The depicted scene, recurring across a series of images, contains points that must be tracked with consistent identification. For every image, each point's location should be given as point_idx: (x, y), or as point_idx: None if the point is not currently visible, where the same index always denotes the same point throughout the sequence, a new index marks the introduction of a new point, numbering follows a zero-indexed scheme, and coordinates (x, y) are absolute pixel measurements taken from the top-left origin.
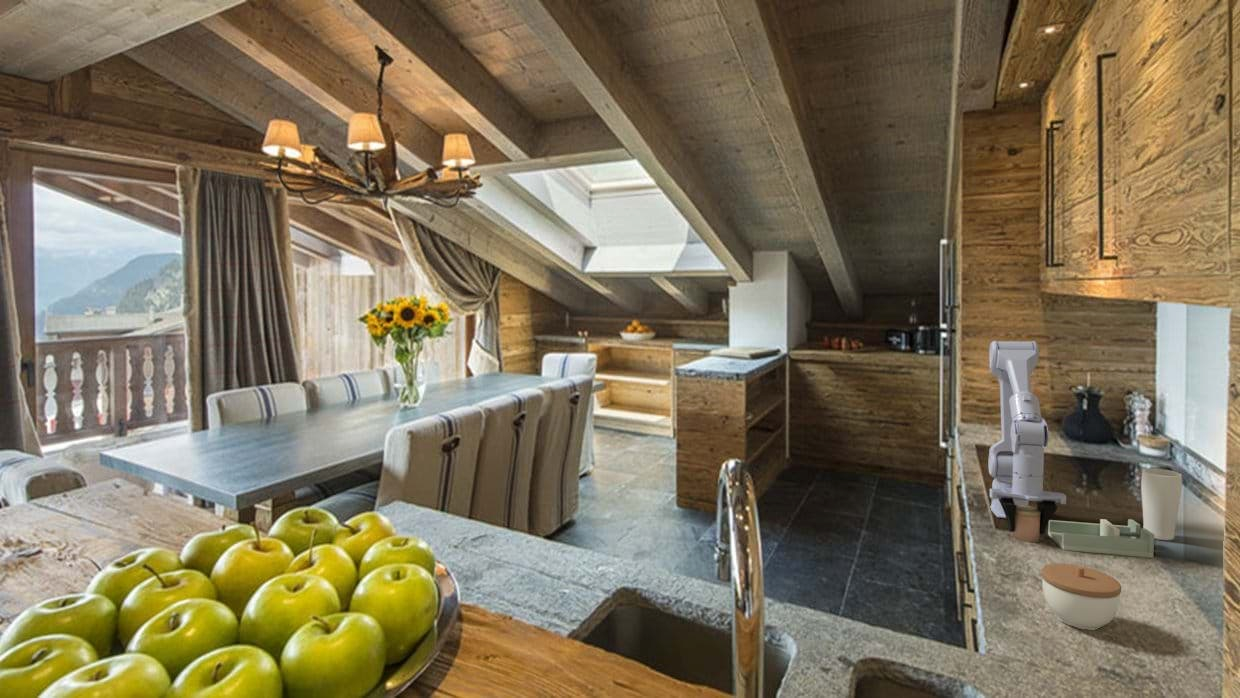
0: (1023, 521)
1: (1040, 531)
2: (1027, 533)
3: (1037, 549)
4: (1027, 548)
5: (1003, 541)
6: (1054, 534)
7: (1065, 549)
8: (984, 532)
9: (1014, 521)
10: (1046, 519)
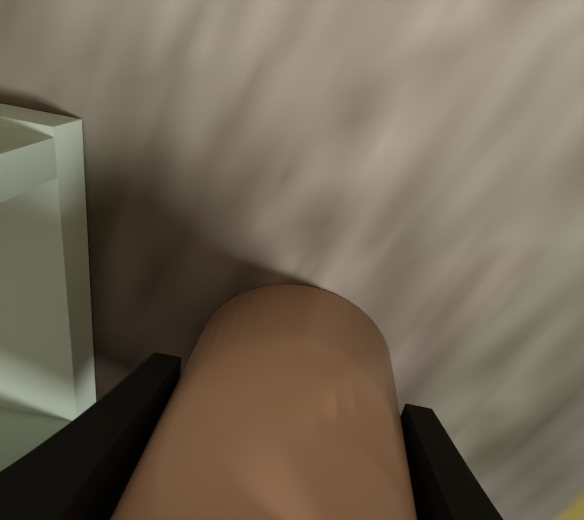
0: (367, 473)
1: (173, 376)
2: (326, 341)
3: (334, 113)
4: (425, 134)
5: (548, 297)
6: (58, 375)
7: (62, 115)
8: (564, 459)
9: (447, 499)
10: (41, 476)
